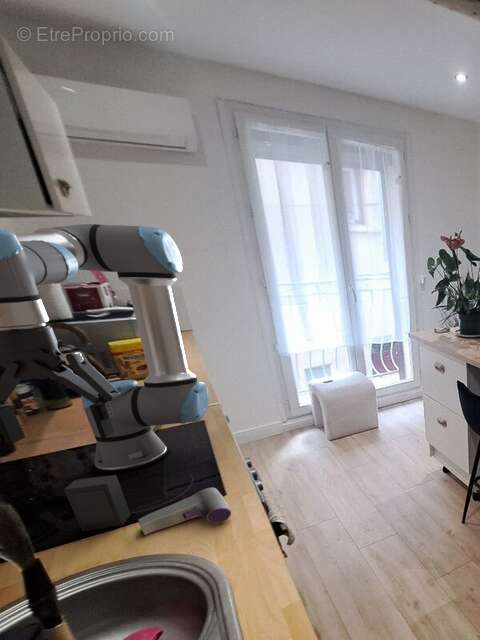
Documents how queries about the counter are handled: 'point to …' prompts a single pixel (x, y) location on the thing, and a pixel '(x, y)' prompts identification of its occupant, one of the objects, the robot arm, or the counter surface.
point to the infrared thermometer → (188, 511)
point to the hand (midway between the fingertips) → (63, 437)
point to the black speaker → (98, 502)
